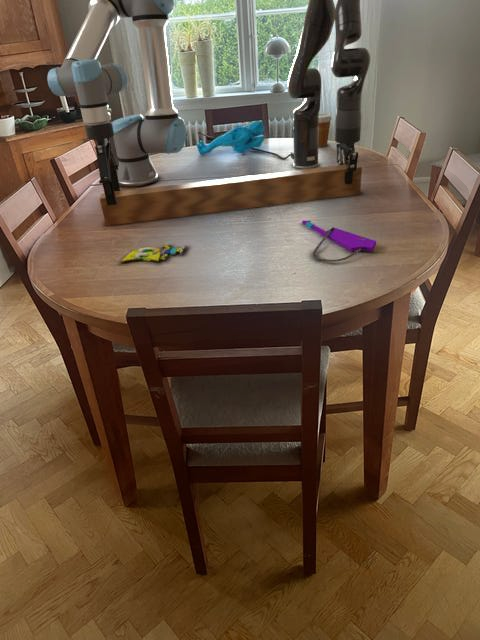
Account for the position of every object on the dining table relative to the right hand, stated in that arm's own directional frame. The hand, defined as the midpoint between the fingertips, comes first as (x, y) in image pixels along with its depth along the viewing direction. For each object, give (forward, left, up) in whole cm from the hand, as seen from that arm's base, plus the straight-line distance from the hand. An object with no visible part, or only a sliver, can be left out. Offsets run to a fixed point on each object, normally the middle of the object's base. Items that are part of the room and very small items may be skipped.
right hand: (345, 181), depth 152 cm
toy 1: (+22, -64, -4) cm, 67 cm away
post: (-4, -36, -4) cm, 36 cm away
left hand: (-7, -72, +4) cm, 72 cm away
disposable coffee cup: (-63, +16, -4) cm, 65 cm away
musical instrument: (+34, -20, -4) cm, 40 cm away
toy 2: (-71, -21, -4) cm, 74 cm away
